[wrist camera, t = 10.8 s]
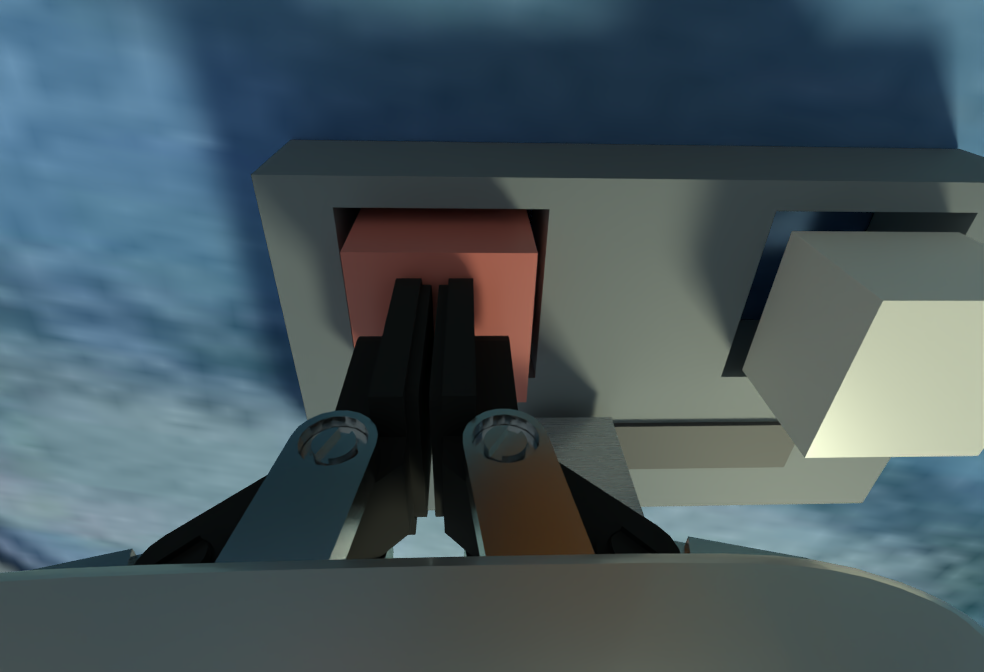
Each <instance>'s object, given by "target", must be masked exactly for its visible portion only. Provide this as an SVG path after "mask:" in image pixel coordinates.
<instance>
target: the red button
mask: <svg viewBox="0 0 984 672" xmlns="http://www.w3.org/2000/svg"><path fill="white" fill-rule="evenodd" d="M340 255H341V262H342V269H343V275H344V282H345V289H346V296H347V302H348V309H349V316H350V322H351V329H352V336H353V342H354V348H355V344H356V341H357V339H358V337H360V336H382V335H383V331H384V326H385V322H386V318H387V314H388V310H389V305H390V301H391V297H392V293H393V289H394V284H395V280H396V278H422V284H423V285H431V286H432V301H433V323H434V333H435V322H436V311H437V300H438V289H439V285H448V281H449V278H473V288H474V329H475V336H509V340H510V348H511V356H512V364H513V373H514V381H515V389H516V397H517V402H526V400H527V387H528V374H529V361H530V348H531V335H532V322H533V309H534V296H535V283H536V270H537V257H538V252H537V248H536V244H535V241H534V237H533V233H532V229H531V225H530V221H529V217H528V214H527V210H526V209H466V208H361V209H360V211H359V214H358V216H357V218H356V220H355V222H354V224H353V226H352V228H351V230H350V232H349V235H348V237H347V239H346V241H345V243H344V245H343V247H342V249H341V251H340Z"/></svg>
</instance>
